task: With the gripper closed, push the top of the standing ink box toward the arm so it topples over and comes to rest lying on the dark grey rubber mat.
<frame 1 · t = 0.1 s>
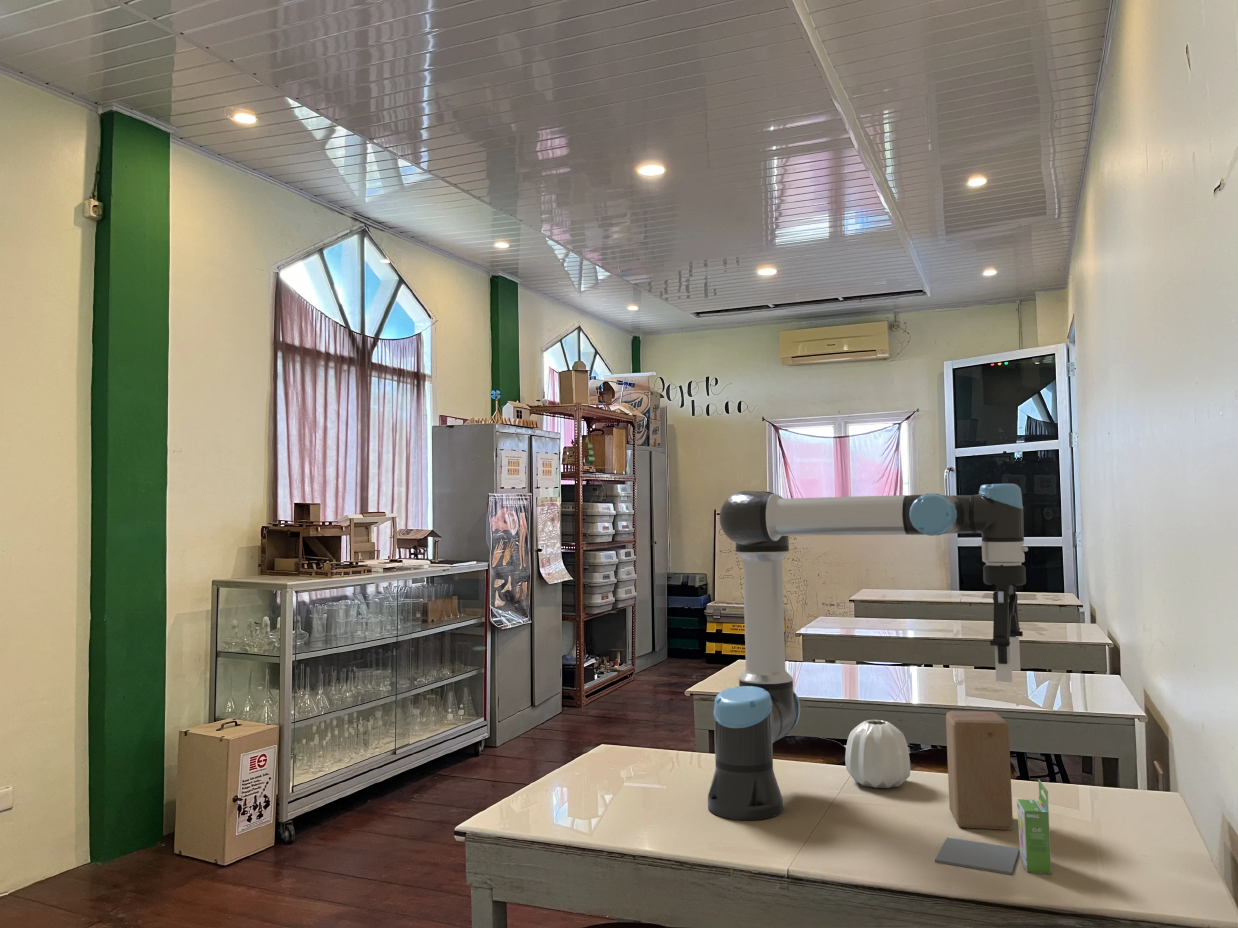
hand: (1008, 675, 169), 28 cm above the table, fingers open, 13 cm apart
mat: (977, 855, 153), on the table
vase: (878, 784, 196), on the table
wooden block: (980, 822, 170), on the table
ink box: (1035, 866, 148), on the table
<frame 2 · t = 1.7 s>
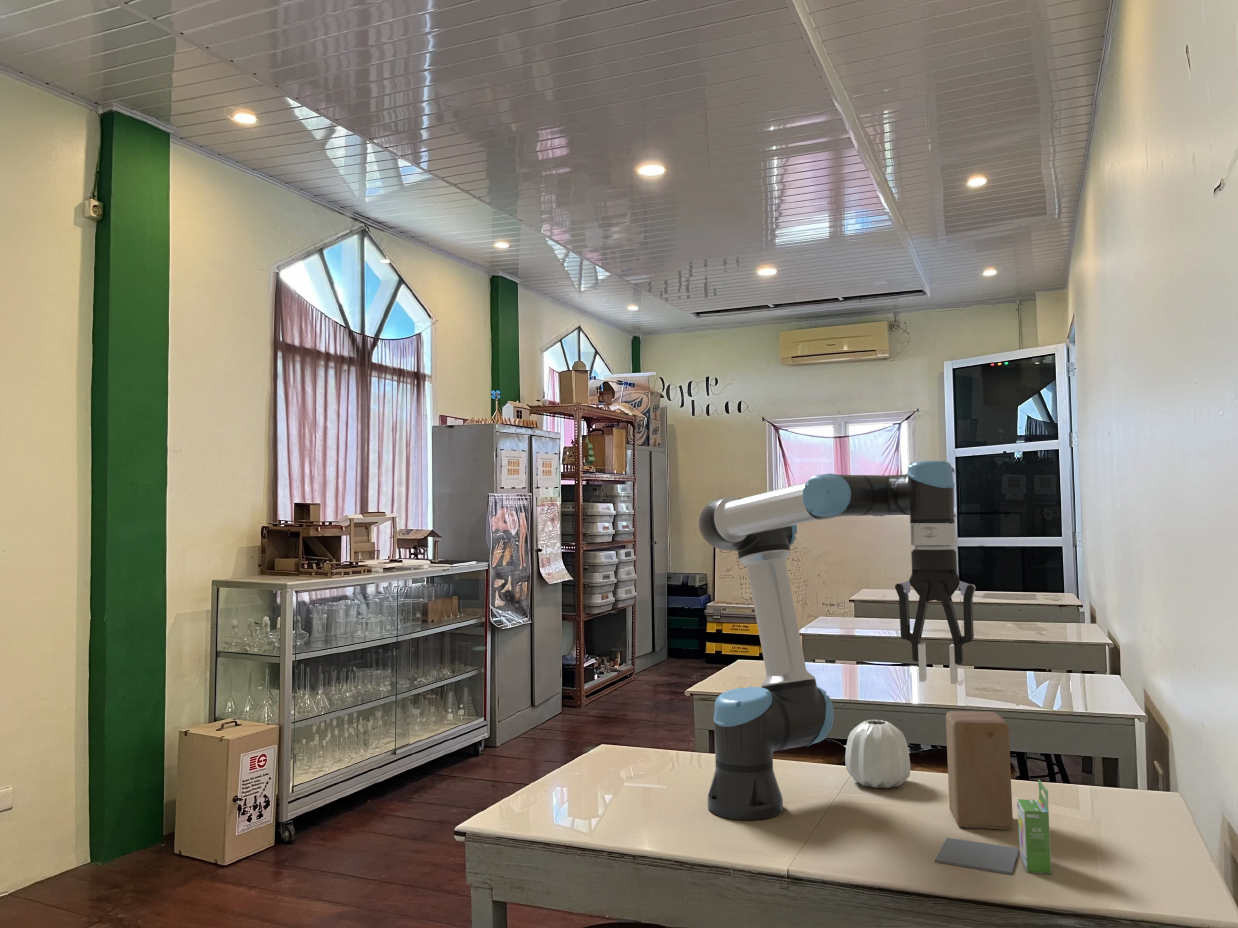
hand: (938, 681, 156), 30 cm above the table, fingers open, 4 cm apart
nothing on the table moved.
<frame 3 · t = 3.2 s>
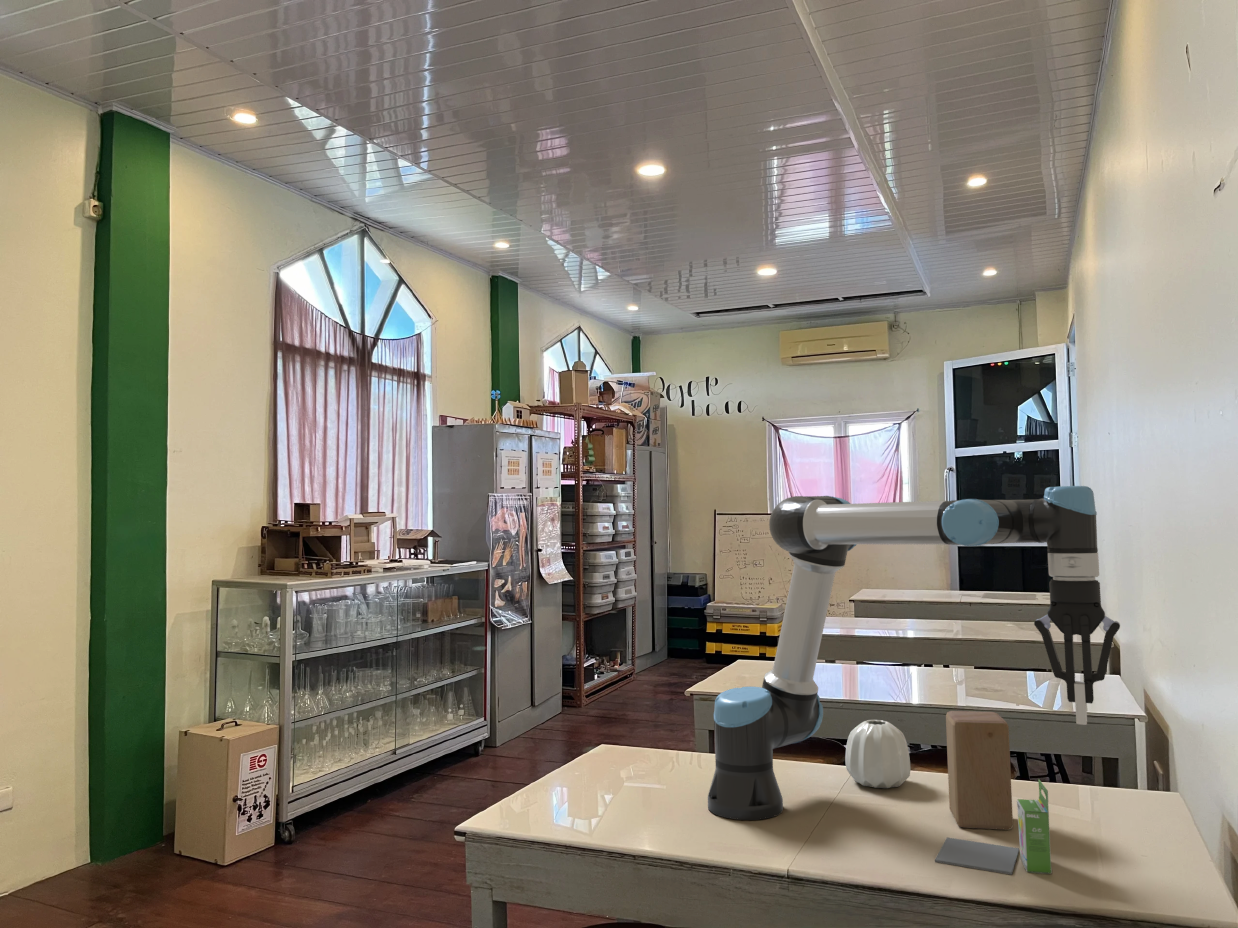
hand: (1081, 722, 146), 24 cm above the table, fingers closed
nothing on the table moved.
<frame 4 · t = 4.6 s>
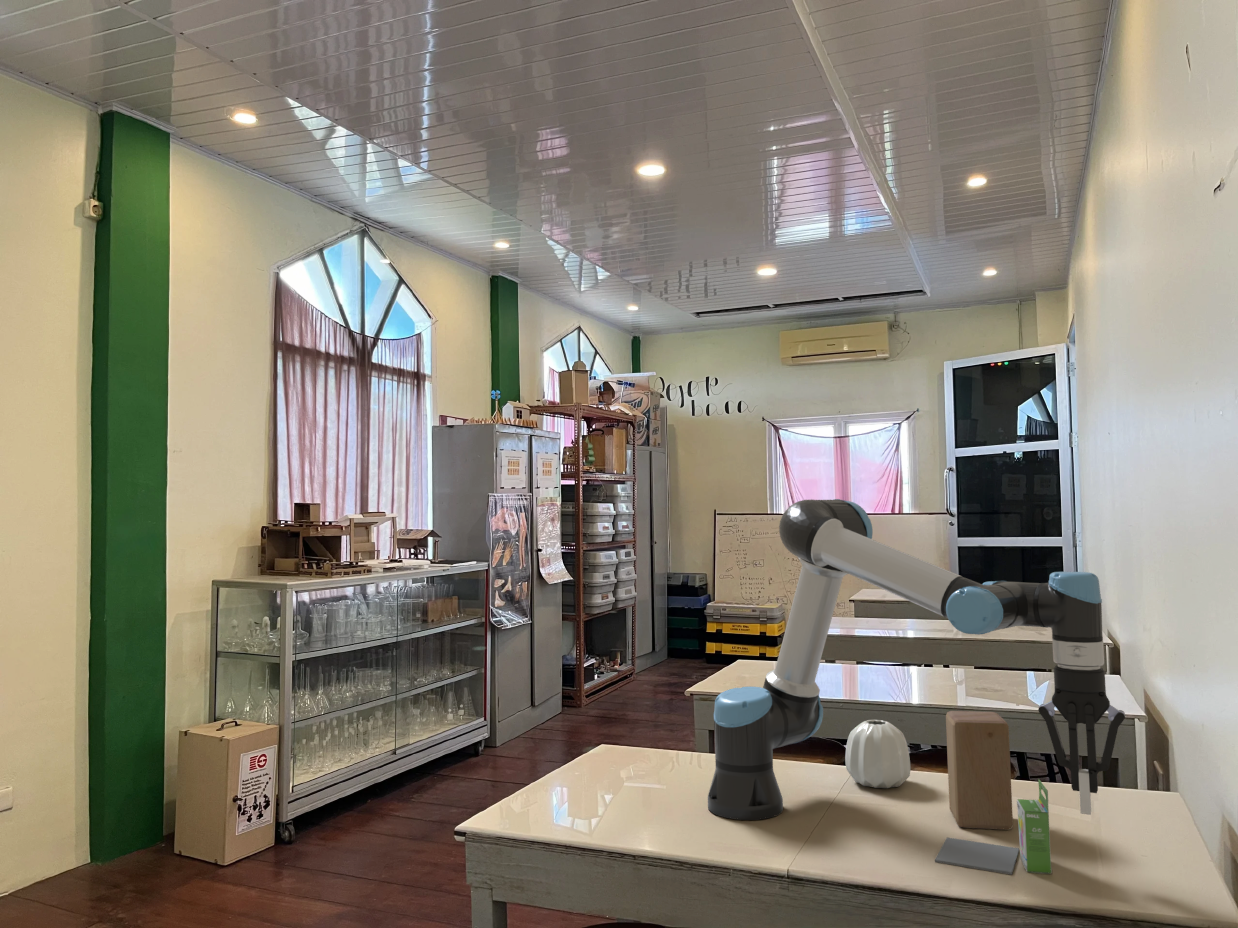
hand: (1085, 811, 145), 10 cm above the table, fingers closed
nothing on the table moved.
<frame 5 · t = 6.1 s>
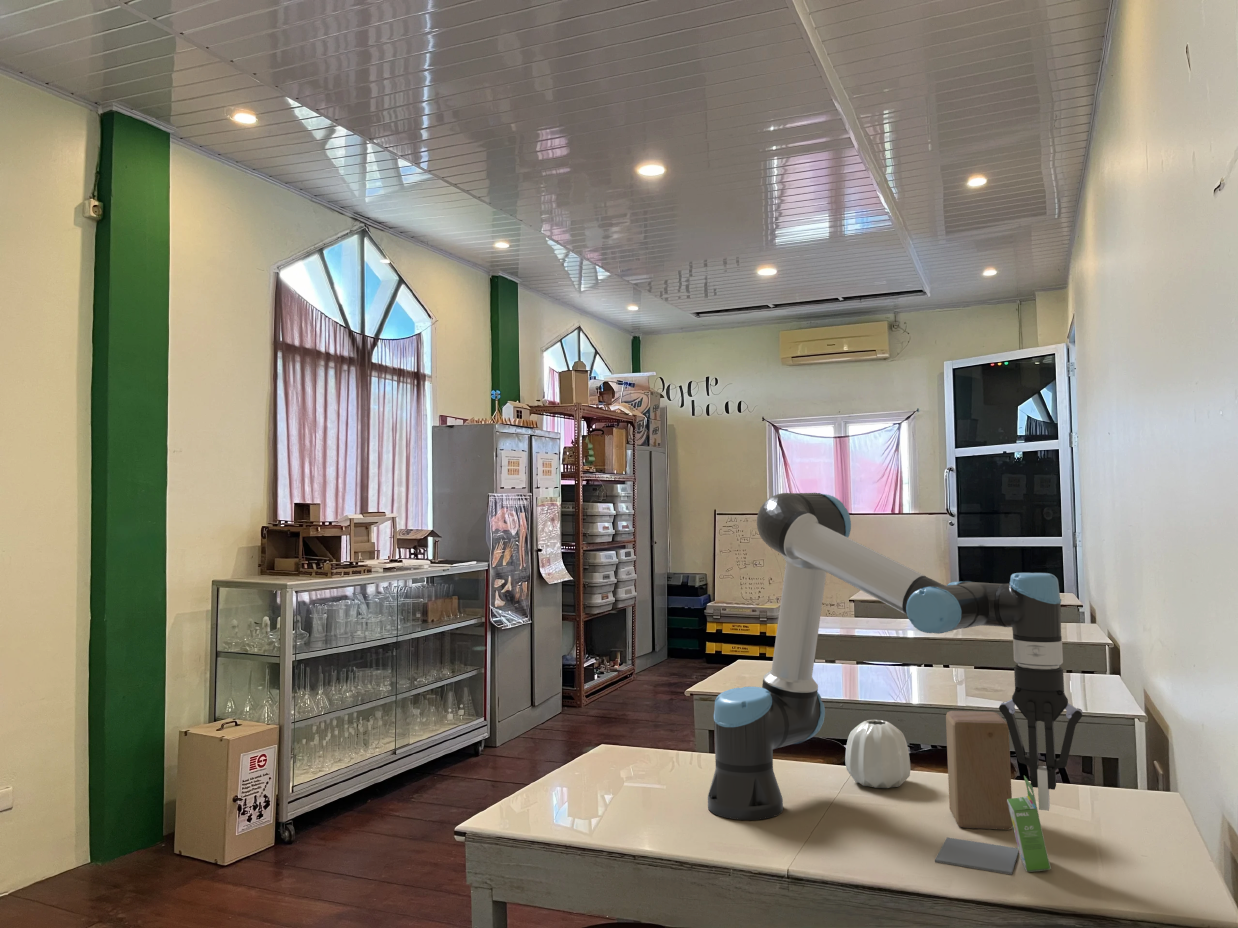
hand: (1044, 807, 148), 10 cm above the table, fingers closed
ink box: (1035, 864, 149), on the table, touching gripper
everything else where it was.
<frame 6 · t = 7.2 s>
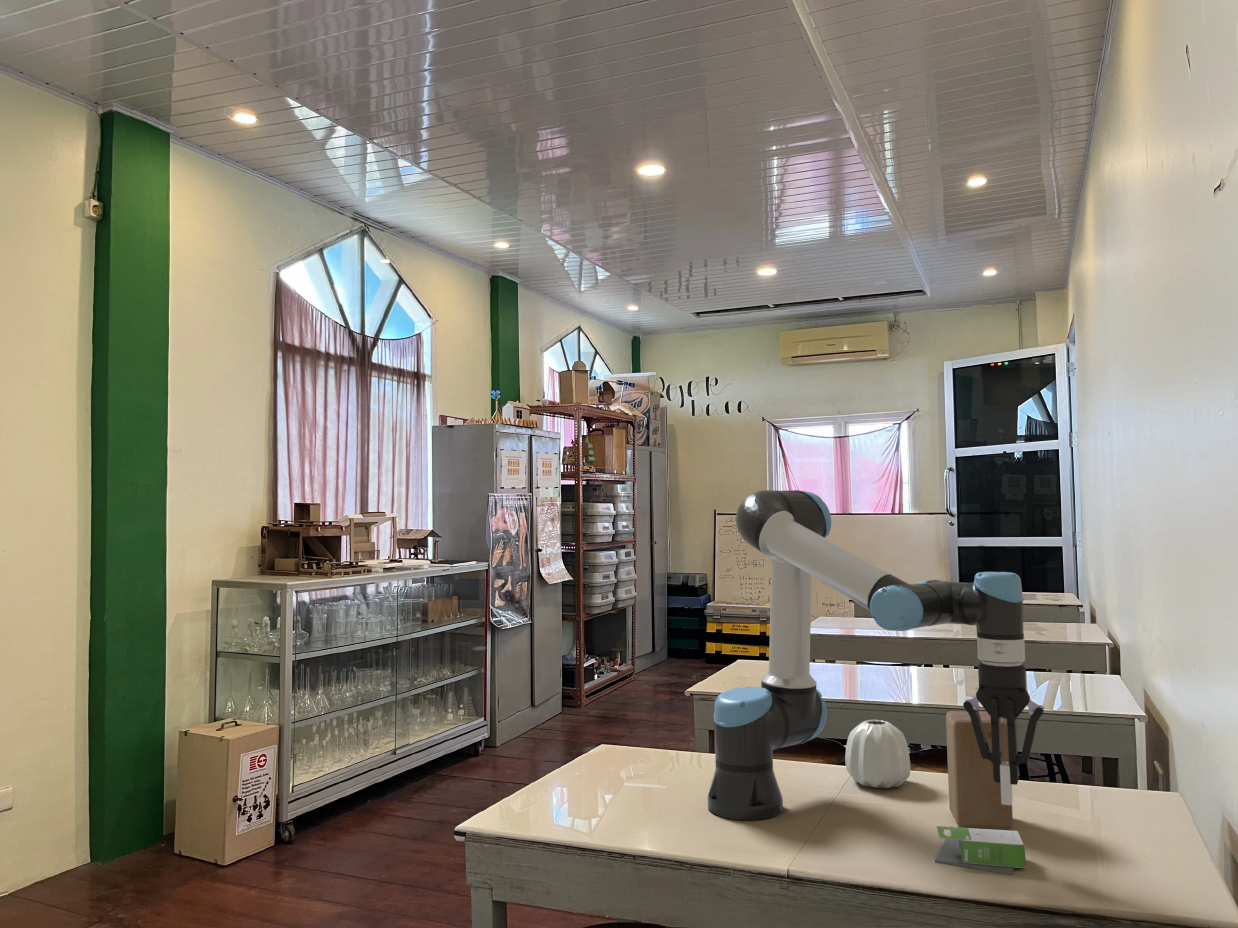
hand: (1007, 802, 151), 10 cm above the table, fingers closed
ink box: (1023, 849, 149), point 2 cm above the table, touching mat
everything else where it was.
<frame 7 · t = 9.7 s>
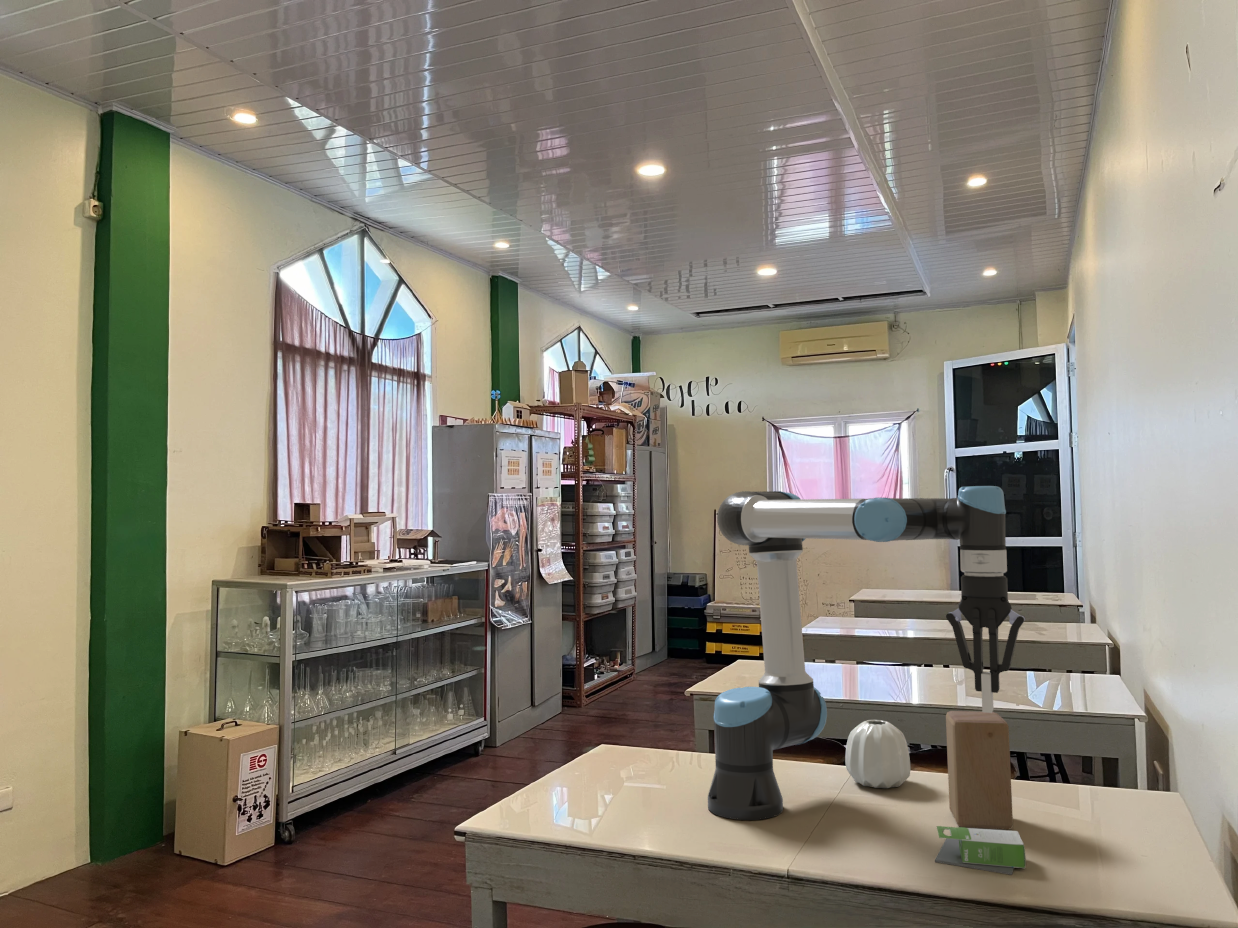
hand: (987, 710, 154), 25 cm above the table, fingers closed
nothing on the table moved.
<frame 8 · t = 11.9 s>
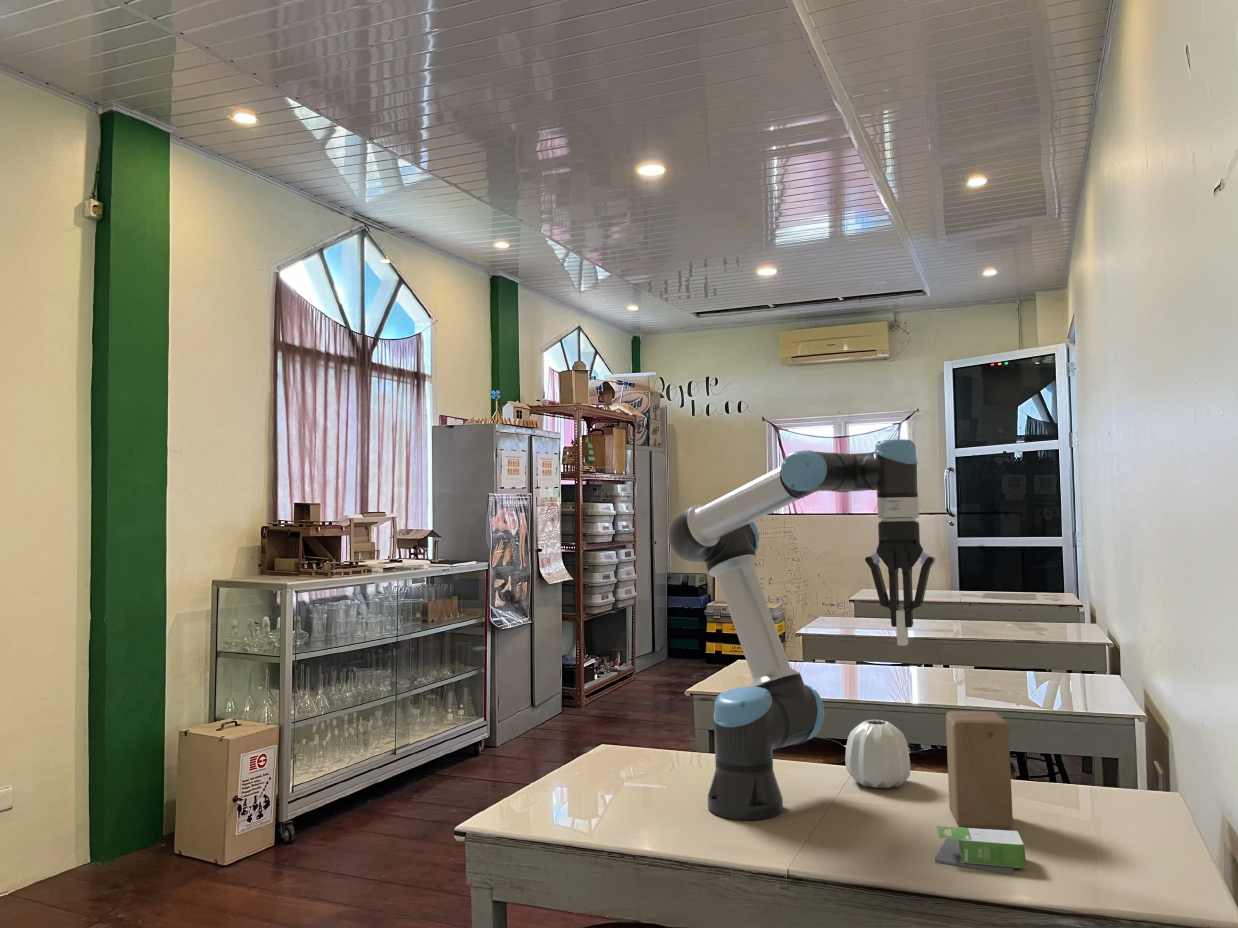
hand: (902, 644, 169), 34 cm above the table, fingers closed
nothing on the table moved.
at the end: ink box tilted 90°; ink box inside the target area (5.4 cm from its centre), point 2.4 cm above the table; the gripper is holding nothing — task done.
